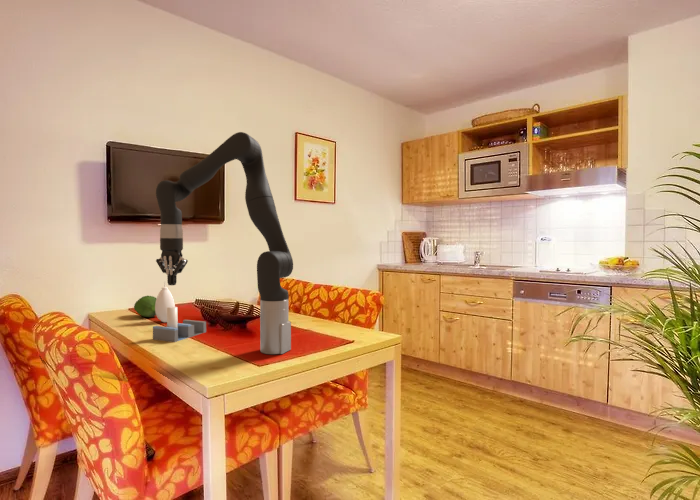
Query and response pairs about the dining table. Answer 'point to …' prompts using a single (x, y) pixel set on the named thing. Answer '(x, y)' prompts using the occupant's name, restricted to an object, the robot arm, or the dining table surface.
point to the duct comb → (179, 331)
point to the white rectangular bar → (172, 317)
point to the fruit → (146, 306)
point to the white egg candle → (163, 303)
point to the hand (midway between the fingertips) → (171, 285)
